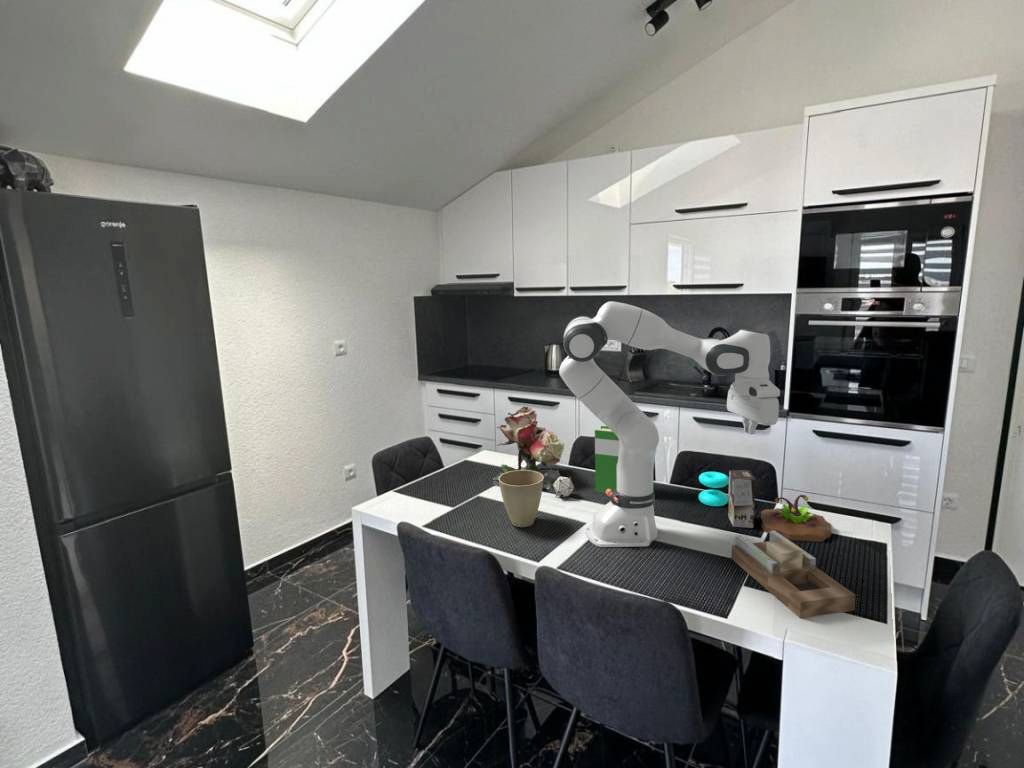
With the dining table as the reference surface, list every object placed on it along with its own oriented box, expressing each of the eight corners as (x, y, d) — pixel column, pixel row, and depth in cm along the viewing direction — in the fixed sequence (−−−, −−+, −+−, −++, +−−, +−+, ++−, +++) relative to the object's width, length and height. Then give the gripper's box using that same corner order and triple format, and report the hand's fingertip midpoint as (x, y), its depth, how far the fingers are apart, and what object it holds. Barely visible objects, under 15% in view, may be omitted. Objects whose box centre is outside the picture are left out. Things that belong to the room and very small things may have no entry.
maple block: (780, 571, 136) (781, 553, 135) (765, 560, 142) (766, 542, 141) (801, 568, 137) (802, 550, 136) (786, 557, 143) (787, 539, 142)
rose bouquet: (560, 491, 207) (559, 415, 201) (488, 487, 214) (485, 413, 209) (571, 470, 231) (570, 401, 226) (506, 466, 239) (503, 400, 234)
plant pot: (493, 519, 183) (490, 475, 181) (531, 510, 190) (529, 467, 187) (513, 536, 170) (511, 488, 168) (553, 525, 177) (552, 479, 174)
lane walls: (771, 575, 135) (772, 563, 134) (735, 545, 151) (735, 535, 150) (815, 569, 136) (816, 558, 136) (774, 540, 153) (774, 530, 152)
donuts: (727, 471, 193) (730, 481, 183) (727, 497, 195) (729, 508, 185) (698, 469, 196) (699, 479, 186) (697, 495, 197) (699, 506, 188)
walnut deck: (799, 618, 124) (800, 602, 123) (731, 558, 151) (731, 545, 151) (854, 610, 126) (855, 594, 125) (776, 553, 153) (777, 540, 153)
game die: (568, 505, 203) (584, 484, 201) (558, 505, 196) (575, 483, 194) (552, 489, 208) (568, 469, 206) (542, 488, 200) (558, 467, 199)
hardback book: (595, 491, 206) (594, 430, 202) (602, 485, 212) (601, 425, 208) (641, 498, 197) (641, 434, 193) (646, 491, 203) (647, 430, 199)
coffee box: (754, 528, 170) (756, 479, 167) (732, 527, 171) (734, 478, 168) (747, 516, 178) (749, 469, 176) (727, 515, 180) (728, 469, 177)
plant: (835, 547, 156) (838, 511, 154) (761, 537, 164) (763, 502, 162) (827, 520, 174) (829, 487, 172) (760, 512, 182) (762, 480, 180)
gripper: (722, 380, 163) (720, 425, 165) (762, 393, 143) (760, 443, 145) (741, 379, 164) (739, 423, 166) (784, 391, 144) (781, 441, 146)
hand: (749, 433), depth 156 cm, fingers closed
